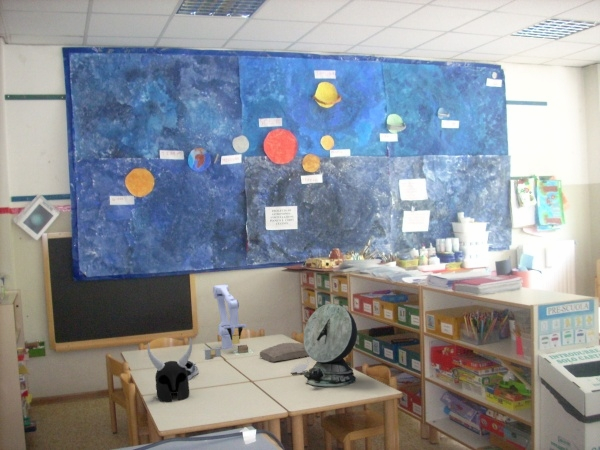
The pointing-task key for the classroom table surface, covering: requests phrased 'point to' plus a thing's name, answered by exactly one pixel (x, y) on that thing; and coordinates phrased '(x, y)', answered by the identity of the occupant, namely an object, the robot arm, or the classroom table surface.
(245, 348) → the base block
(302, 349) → the stone tablet
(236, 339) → the brick
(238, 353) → the build plate
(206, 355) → the tile
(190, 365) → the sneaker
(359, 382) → the classroom table surface
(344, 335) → the sundial
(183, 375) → the helmet
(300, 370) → the figurine
